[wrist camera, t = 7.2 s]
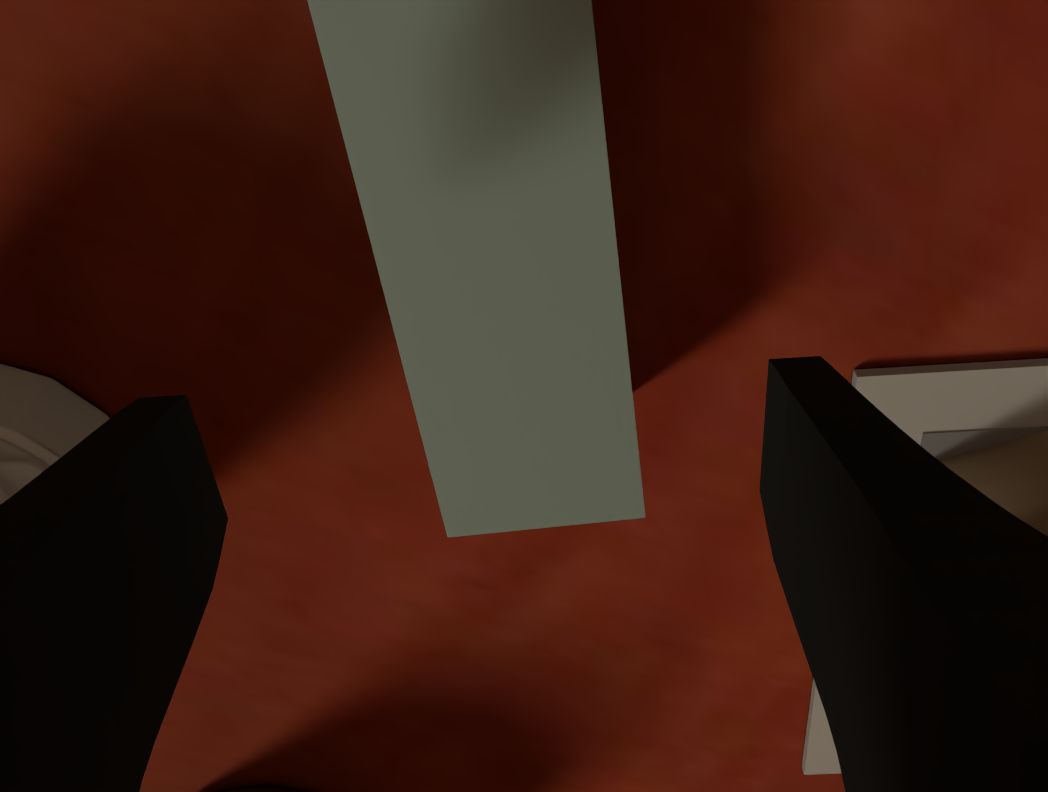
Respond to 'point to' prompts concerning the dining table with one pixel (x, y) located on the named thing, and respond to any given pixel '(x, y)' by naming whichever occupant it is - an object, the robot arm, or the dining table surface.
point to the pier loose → (1011, 476)
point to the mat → (943, 445)
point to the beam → (494, 248)
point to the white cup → (38, 425)
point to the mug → (261, 790)
